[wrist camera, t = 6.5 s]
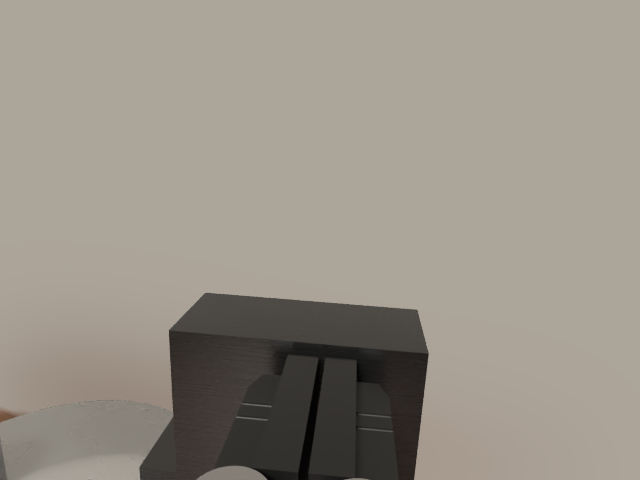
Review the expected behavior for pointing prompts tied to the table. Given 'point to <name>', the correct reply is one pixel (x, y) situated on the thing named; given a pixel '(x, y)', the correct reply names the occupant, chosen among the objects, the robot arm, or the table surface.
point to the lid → (222, 390)
